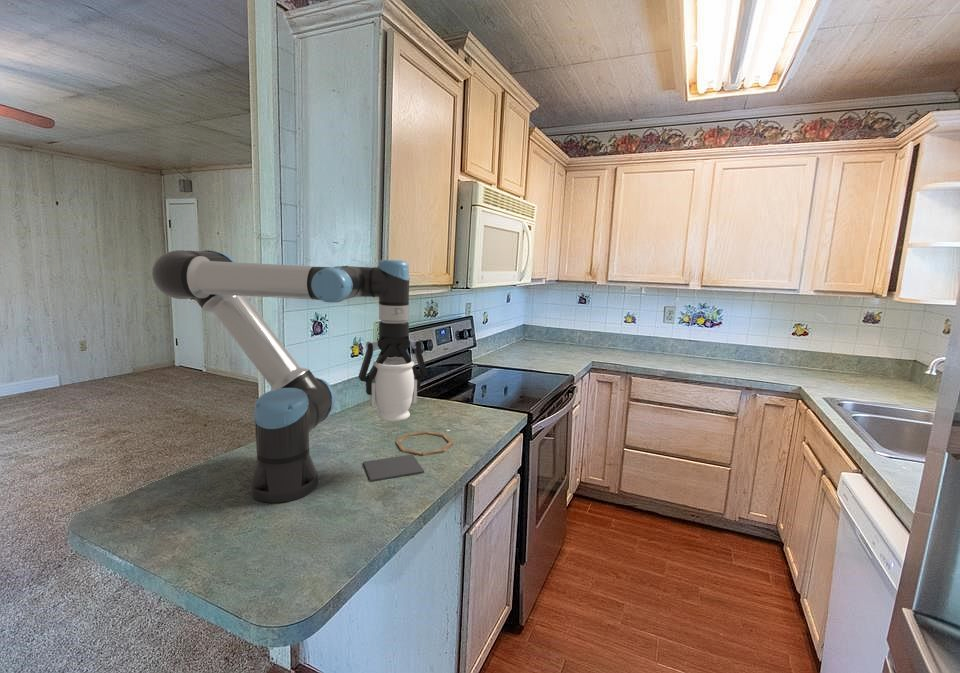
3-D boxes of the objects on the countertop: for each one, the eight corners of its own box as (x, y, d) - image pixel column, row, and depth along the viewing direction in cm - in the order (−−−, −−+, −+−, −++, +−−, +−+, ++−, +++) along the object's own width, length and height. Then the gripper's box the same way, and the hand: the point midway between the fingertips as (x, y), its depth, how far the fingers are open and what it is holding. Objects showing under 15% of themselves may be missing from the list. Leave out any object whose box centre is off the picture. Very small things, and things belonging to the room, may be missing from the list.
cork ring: (405, 458, 129) (405, 456, 129) (392, 436, 144) (392, 435, 144) (459, 450, 136) (459, 448, 136) (441, 430, 151) (441, 429, 151)
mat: (371, 481, 115) (371, 479, 115) (363, 463, 125) (363, 461, 125) (424, 472, 121) (424, 471, 121) (412, 455, 131) (412, 454, 131)
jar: (365, 417, 118) (364, 361, 116) (390, 407, 127) (390, 355, 125) (397, 426, 113) (397, 367, 111) (421, 414, 123) (422, 360, 120)
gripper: (350, 324, 108) (351, 413, 112) (441, 322, 117) (439, 404, 121) (345, 320, 115) (346, 404, 119) (432, 318, 124) (430, 395, 128)
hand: (393, 404), depth 120 cm, fingers closed on jar, 10 cm apart
